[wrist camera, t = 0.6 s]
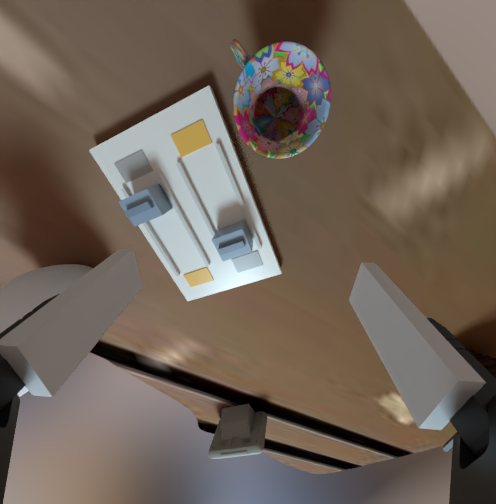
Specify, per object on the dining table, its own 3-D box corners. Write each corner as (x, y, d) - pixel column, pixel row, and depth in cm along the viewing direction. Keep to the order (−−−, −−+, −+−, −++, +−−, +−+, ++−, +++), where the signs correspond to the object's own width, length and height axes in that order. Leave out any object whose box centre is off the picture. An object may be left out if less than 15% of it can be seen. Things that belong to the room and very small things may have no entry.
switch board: (98, 149, 33) (84, 150, 30) (212, 88, 29) (207, 83, 26) (190, 295, 45) (186, 304, 42) (280, 268, 41) (282, 276, 38)
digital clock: (219, 420, 68) (212, 465, 58) (211, 405, 64) (202, 450, 55) (269, 418, 65) (270, 464, 56) (264, 402, 62) (264, 448, 52)
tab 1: (133, 195, 34) (114, 203, 29) (159, 183, 32) (144, 189, 28) (147, 218, 35) (131, 228, 31) (173, 207, 34) (160, 216, 30)
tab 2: (216, 230, 35) (210, 242, 31) (244, 220, 34) (241, 230, 30) (226, 250, 37) (221, 264, 33) (253, 241, 36) (252, 254, 32)
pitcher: (125, 260, 42) (-71, 427, 17) (130, 321, 50) (-1, 497, 25) (3, 236, 41) (-388, 374, 16) (27, 302, 49) (-214, 464, 24)
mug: (322, 120, 29) (350, 109, 20) (270, 168, 33) (273, 177, 23) (267, 35, 26) (270, -28, 16) (215, 98, 29) (192, 75, 20)
